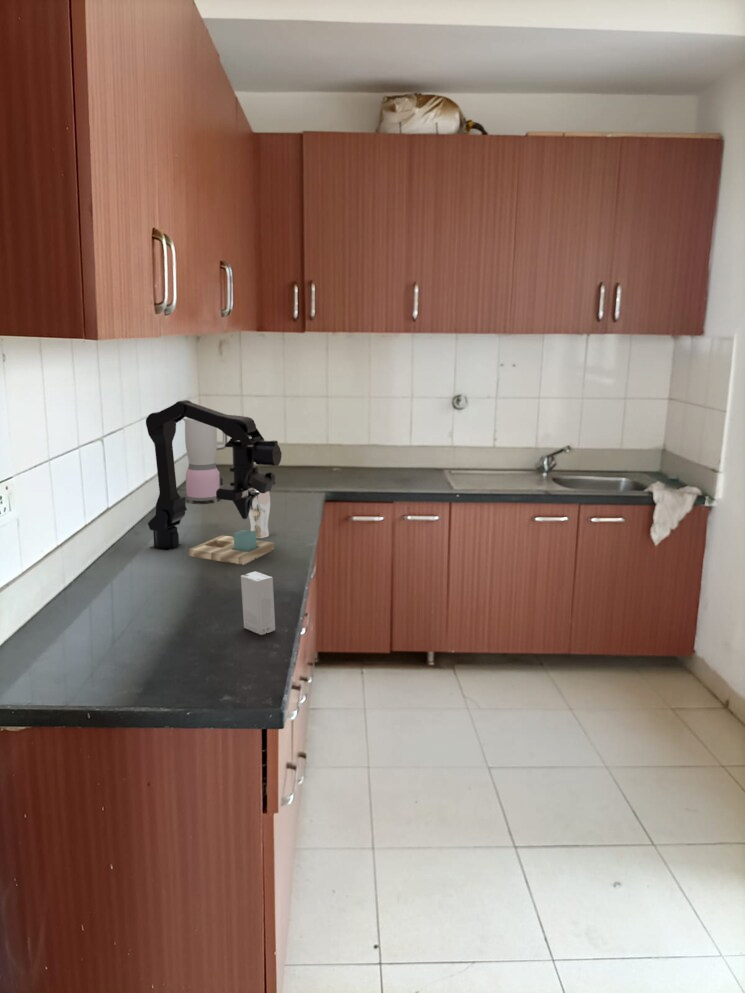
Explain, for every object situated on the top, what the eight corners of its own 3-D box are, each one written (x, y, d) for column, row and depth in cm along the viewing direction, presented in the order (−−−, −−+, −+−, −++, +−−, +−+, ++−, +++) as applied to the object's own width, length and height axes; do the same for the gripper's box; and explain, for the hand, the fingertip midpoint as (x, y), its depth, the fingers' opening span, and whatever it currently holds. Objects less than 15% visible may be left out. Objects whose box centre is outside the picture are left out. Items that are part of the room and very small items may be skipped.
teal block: (234, 555, 211) (233, 533, 209) (243, 551, 215) (242, 529, 213) (248, 557, 209) (247, 535, 207) (256, 553, 213) (256, 531, 211)
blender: (186, 505, 272) (183, 416, 264) (185, 497, 283) (181, 412, 276) (231, 502, 276) (228, 415, 269) (227, 495, 287) (225, 412, 280)
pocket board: (189, 557, 210) (188, 549, 209) (222, 543, 224) (222, 535, 224) (243, 566, 203) (243, 557, 202) (274, 551, 217) (274, 542, 217)
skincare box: (276, 630, 161) (275, 576, 158) (259, 636, 157) (258, 581, 155) (258, 622, 165) (256, 570, 162) (241, 628, 162) (240, 574, 159)
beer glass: (249, 540, 228) (248, 492, 224) (246, 534, 234) (245, 487, 231) (272, 539, 229) (271, 491, 226) (269, 533, 236) (268, 486, 233)
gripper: (249, 471, 194) (251, 530, 198) (286, 460, 211) (286, 514, 215) (213, 468, 199) (215, 525, 202) (252, 457, 216) (253, 510, 219)
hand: (244, 518), depth 209 cm, fingers closed
